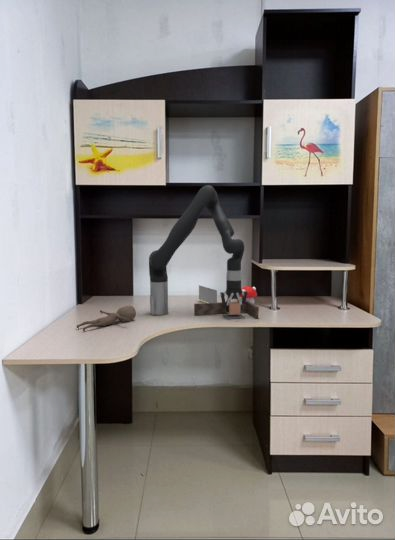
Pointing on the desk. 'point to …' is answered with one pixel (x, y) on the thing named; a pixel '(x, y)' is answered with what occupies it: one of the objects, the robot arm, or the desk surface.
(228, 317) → the pad
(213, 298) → the sign holder
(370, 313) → the desk surface
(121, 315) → the toy
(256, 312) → the brown wooden corner barrier
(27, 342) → the desk surface
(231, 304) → the block
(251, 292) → the mushroom
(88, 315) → the desk surface
